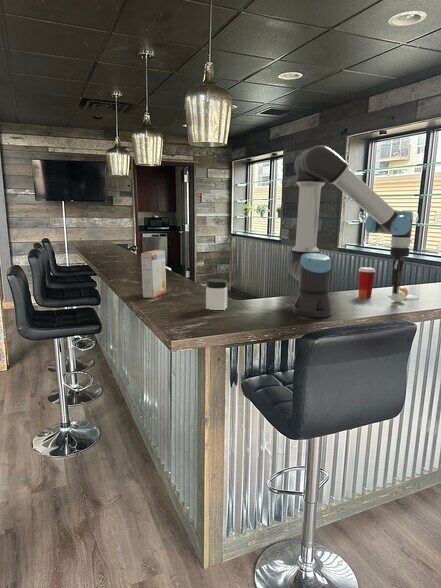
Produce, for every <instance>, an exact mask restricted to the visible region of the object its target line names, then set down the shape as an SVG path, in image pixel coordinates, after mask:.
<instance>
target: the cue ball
mask: <svg viewBox="0 0 441 588" xmlns="http://www.w3.org/2000/svg"><path fill="white" fill-rule="evenodd" d="M404 299H405V294H404V292H402V291H400V290H399V299H398V301H394V303H403V302H404V301H405V300H404Z"/></svg>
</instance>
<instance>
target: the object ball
mask: <svg viewBox="0 0 441 588" xmlns="http://www.w3.org/2000/svg"><path fill="white" fill-rule="evenodd" d="M399 290H400V291H402V292H404V294H405V297H406V296H407V295H409V289H407V288H406V287H405V286H400V289H399Z"/></svg>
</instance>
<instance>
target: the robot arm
mask: <svg viewBox="0 0 441 588" xmlns="http://www.w3.org/2000/svg"><path fill="white" fill-rule="evenodd" d="M294 172H295V174H296V175H295V176H296V182H295V183H296V185H297V186H298V187H299V191H298V193H299V194H298V205H297V217H296V218H297V219H296V235H295V246H293V247H292V248H291V251H290V252H291V253H290V254H291V255H290V258H289V259H288V262H287V270H288V273H289V274H290V276H291V277H292V278H293V279H294V280H296V281H298V282H299V283H298V284H299V286H298V294H297V297H296V299H295V302H294V304H293V311H292V312H293V314H295V315H298V316H301V317H305V318H306V317H307V318H327V317H331V316H332V315H333V306H332V303H331V299H330V296H329V295H330V294H329V293H330V281H331V268H332V261H331V260H332V259H331V258H330V256H328V255H326V254H324V253H323V254H322V253H320V249H319V248H318V247H317V240H318V230H319V229H318V228H319V227H318V226H319V218H320V217H319V216H320V203H321V190H322V187H323V186H325V184H326V182H327V183H328V184H329V185H335V186H336V188H338V189H339V190H340V191H341V192H343V194H345V196H347V197H348V198H349V199H351V200H352V201H353V202H354V203H355V204H356V205H357V206H358V207H359V208H361V209H362V210H363V211H364V212H365V213H366V214H368V216H367V217H366V219H365V222H364V227H365V231H366V232H367V233H369V234H371V233H372V234H386V235H391V239H390V246H391V247H390V252H389V253H390V254H389V255H390V256H391V257H394V260H393V261H392V265H391V266H392V274H391V277H392V279H391V280H392V281H391V284H390V286H391V287H392V289H391V294H392V297H391V298H390V299H391V301H394V302H395V301H398V299H399V289H400V287H403V284H402V276H403V271H404V264H405V260H404V258H405V257H406V258H407V257H409V255H410V246H411V243H412V241H413V239H411V238H412V229H413V222H414V220H413V219H414V212H413V211H412V210H395V209H394V208H393V207H392V206H390V205H389V204H388V203H387V202H386V201H385V200H384V199H383V198H382V197H381V196H380V195H379V194H377V193H376V192H375V191H374V190H373V189H372V188H371V187H370V186H369V185H367V184H366V183H365V182H364V181H363V180H362V179H361V178H360V177H359V176H358V175H357V174H355V172H353V171H352V170H351V169H350V167H349V163H348V162H347V161H346V160H345V159H344V158H342V156H340V155H339V154H338V153H337V152H336V151H335V150H332V149H331V148H330V147H329V146H326V145H315V146H313V147H311V148H308V149H305V150H303V151H301V153H300V154H299V155H298V156H297V157H296V159H295V161H294Z"/></svg>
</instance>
